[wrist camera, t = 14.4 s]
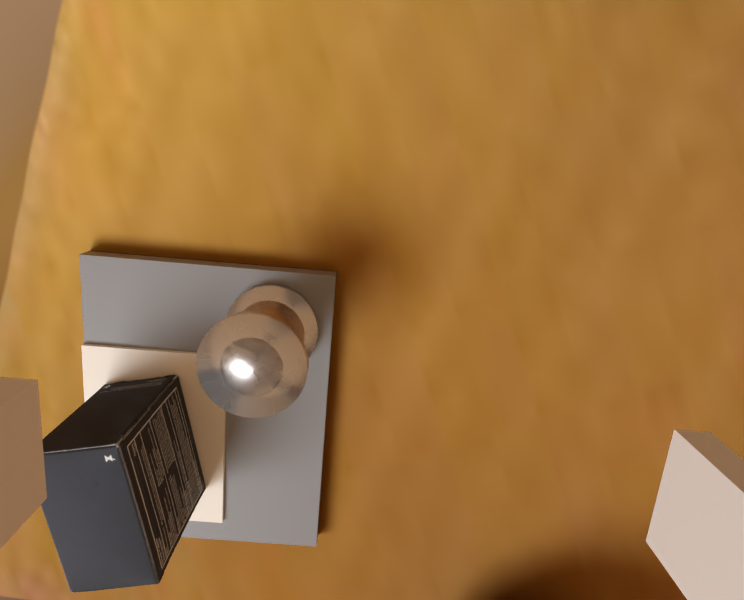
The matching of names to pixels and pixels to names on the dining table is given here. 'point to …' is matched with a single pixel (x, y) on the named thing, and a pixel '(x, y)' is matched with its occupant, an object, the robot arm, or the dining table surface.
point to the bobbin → (259, 352)
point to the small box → (121, 484)
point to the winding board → (208, 421)
